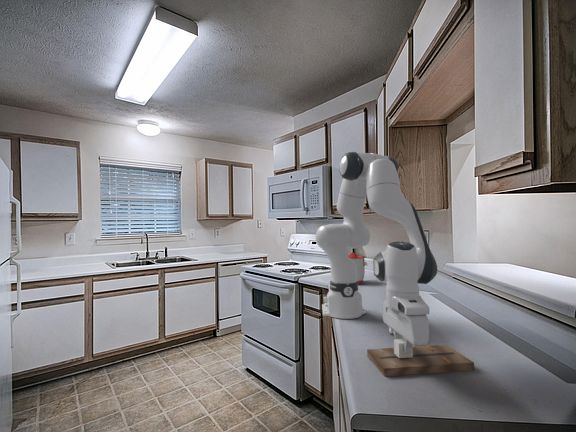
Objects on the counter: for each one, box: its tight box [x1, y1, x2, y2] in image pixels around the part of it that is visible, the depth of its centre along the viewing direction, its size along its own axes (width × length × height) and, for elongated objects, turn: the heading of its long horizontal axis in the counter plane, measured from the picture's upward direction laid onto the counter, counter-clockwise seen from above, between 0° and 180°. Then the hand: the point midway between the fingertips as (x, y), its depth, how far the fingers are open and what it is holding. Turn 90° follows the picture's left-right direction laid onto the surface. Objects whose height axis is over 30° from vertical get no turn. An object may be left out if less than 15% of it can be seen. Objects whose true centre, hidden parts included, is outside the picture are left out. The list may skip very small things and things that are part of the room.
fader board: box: [366, 344, 475, 377], centre depth 87 cm, size 25×12×2 cm, turn 96°
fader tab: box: [393, 338, 414, 358], centre depth 86 cm, size 4×3×4 cm
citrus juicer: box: [348, 252, 369, 285], centre depth 199 cm, size 16×17×20 cm
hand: (403, 349), depth 86 cm, fingers closed on fader tab, 3 cm apart
